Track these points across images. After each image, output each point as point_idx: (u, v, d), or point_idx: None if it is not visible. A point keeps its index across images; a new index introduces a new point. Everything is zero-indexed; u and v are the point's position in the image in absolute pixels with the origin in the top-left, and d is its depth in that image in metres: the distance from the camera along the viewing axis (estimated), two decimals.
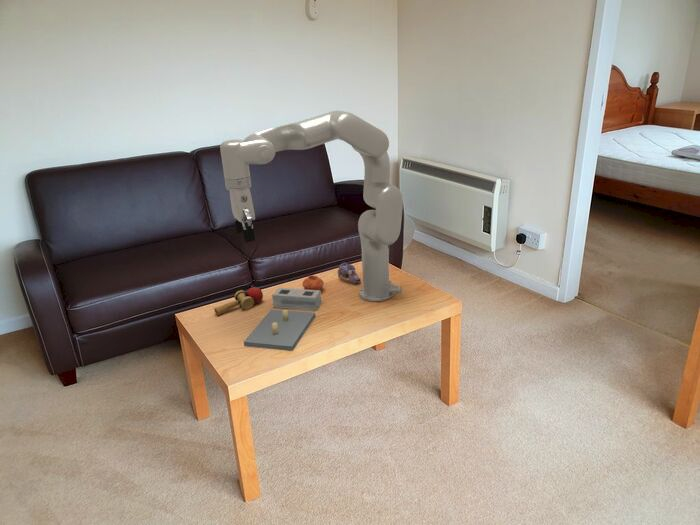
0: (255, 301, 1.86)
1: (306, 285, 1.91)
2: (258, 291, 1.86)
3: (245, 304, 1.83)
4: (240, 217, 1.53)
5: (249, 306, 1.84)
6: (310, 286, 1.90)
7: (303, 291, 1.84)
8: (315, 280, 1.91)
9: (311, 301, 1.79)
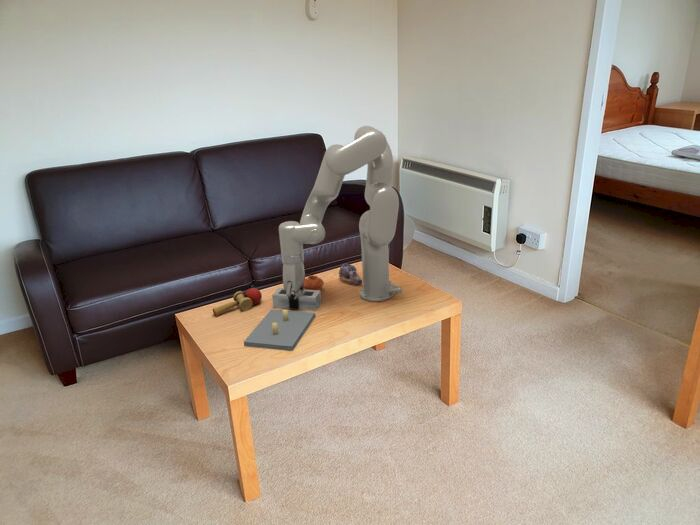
0: (254, 302, 1.85)
1: (306, 285, 1.91)
2: (257, 292, 1.85)
3: (243, 305, 1.83)
4: None
5: (248, 307, 1.84)
6: (310, 286, 1.90)
7: (303, 291, 1.84)
8: (315, 280, 1.91)
9: (311, 301, 1.79)
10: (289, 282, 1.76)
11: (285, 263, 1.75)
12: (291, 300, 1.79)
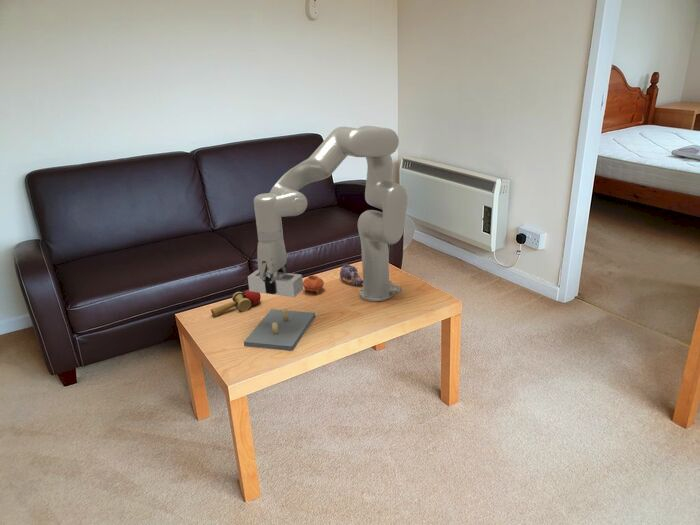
0: (252, 303, 1.84)
1: (306, 285, 1.91)
2: (256, 293, 1.85)
3: (242, 306, 1.82)
4: None
5: (246, 308, 1.83)
6: (310, 286, 1.90)
7: (283, 274, 1.62)
8: (315, 280, 1.91)
9: (288, 286, 1.57)
10: (264, 263, 1.55)
11: (260, 241, 1.54)
12: (267, 283, 1.58)
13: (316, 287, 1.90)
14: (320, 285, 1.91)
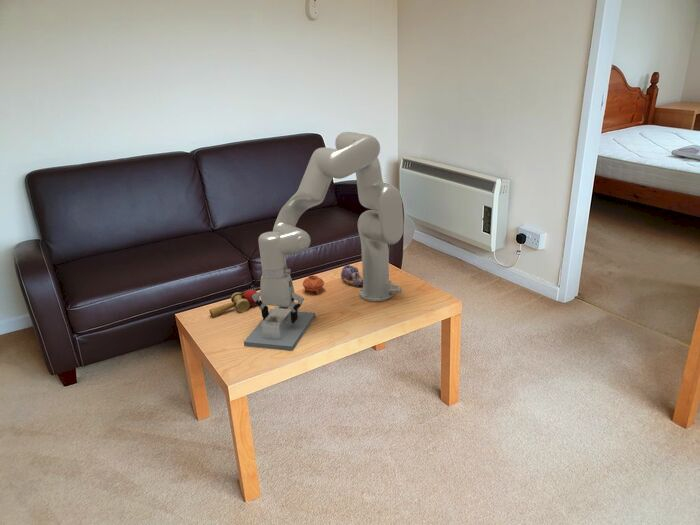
0: (251, 304, 1.84)
1: (306, 285, 1.91)
2: None
3: (241, 306, 1.82)
4: (290, 301, 1.61)
5: (245, 308, 1.83)
6: (310, 286, 1.90)
7: (281, 316, 1.64)
8: (315, 280, 1.91)
9: None
10: None
11: None
12: None
13: (316, 287, 1.90)
14: (320, 285, 1.91)
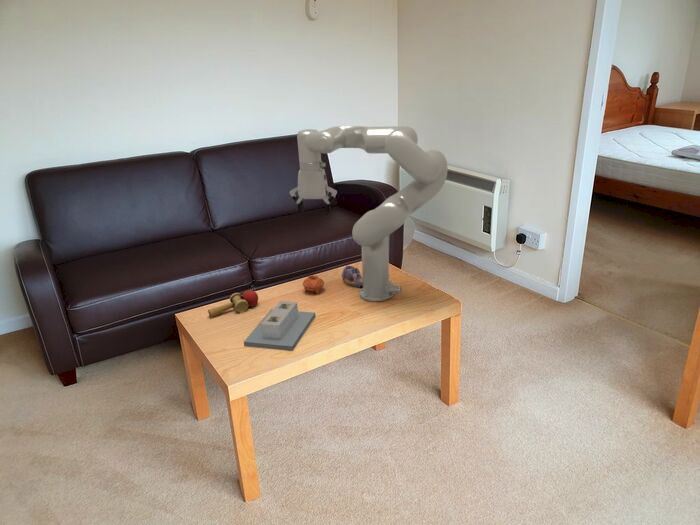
0: (250, 304, 1.84)
1: (306, 285, 1.91)
2: (253, 294, 1.84)
3: (239, 307, 1.82)
4: (324, 193, 1.80)
5: (243, 309, 1.82)
6: (310, 286, 1.90)
7: (281, 316, 1.64)
8: (315, 280, 1.91)
9: None
10: None
11: None
12: None
13: (316, 287, 1.91)
14: (320, 285, 1.91)
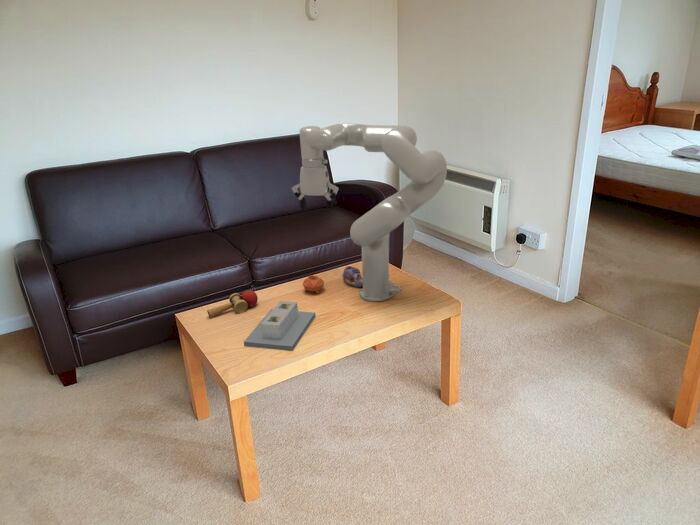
0: (249, 304, 1.83)
1: (306, 285, 1.91)
2: (252, 294, 1.83)
3: (238, 307, 1.82)
4: (326, 190, 1.82)
5: (243, 309, 1.82)
6: (310, 286, 1.90)
7: (281, 316, 1.64)
8: (315, 280, 1.91)
9: None
10: None
11: None
12: None
13: (316, 287, 1.91)
14: (320, 285, 1.91)
